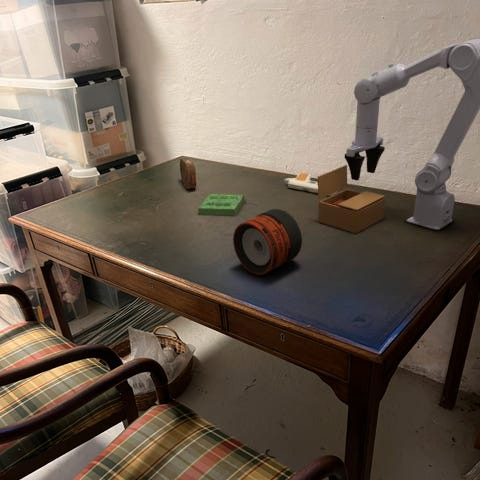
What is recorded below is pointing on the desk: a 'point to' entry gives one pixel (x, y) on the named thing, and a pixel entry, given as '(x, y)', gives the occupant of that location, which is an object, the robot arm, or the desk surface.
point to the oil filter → (267, 241)
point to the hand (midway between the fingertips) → (363, 176)
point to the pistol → (303, 183)
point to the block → (339, 203)
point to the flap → (332, 181)
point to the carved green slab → (221, 204)
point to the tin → (188, 173)
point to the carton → (360, 217)
